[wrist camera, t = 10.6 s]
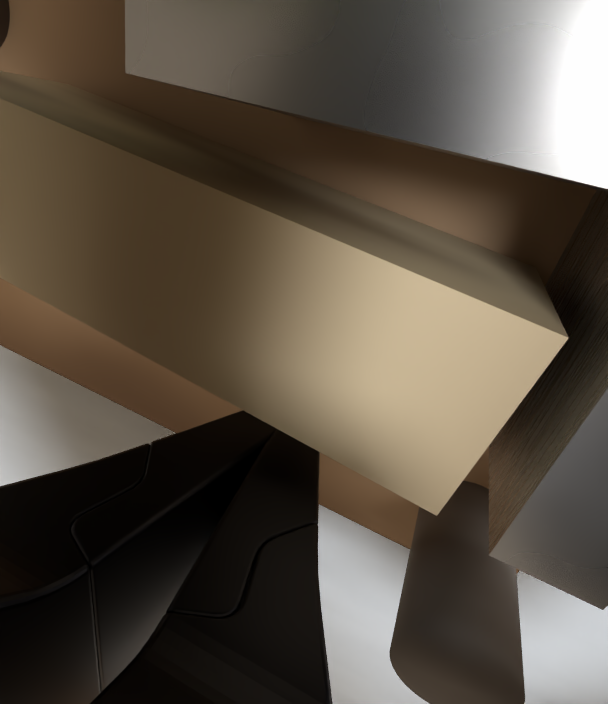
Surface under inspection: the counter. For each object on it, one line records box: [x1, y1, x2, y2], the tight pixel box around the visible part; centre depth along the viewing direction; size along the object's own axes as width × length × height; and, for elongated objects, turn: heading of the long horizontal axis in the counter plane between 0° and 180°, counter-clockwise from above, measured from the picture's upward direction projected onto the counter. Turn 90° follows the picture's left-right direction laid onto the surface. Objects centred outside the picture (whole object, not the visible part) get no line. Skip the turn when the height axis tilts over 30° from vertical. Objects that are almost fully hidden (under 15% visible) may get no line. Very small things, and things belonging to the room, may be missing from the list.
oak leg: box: [0, 71, 569, 516], centre depth 7 cm, size 11×3×4 cm, turn 72°
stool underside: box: [0, 0, 596, 704], centre depth 8 cm, size 11×17×5 cm, turn 77°
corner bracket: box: [125, 0, 608, 610], centre depth 5 cm, size 6×6×4 cm
